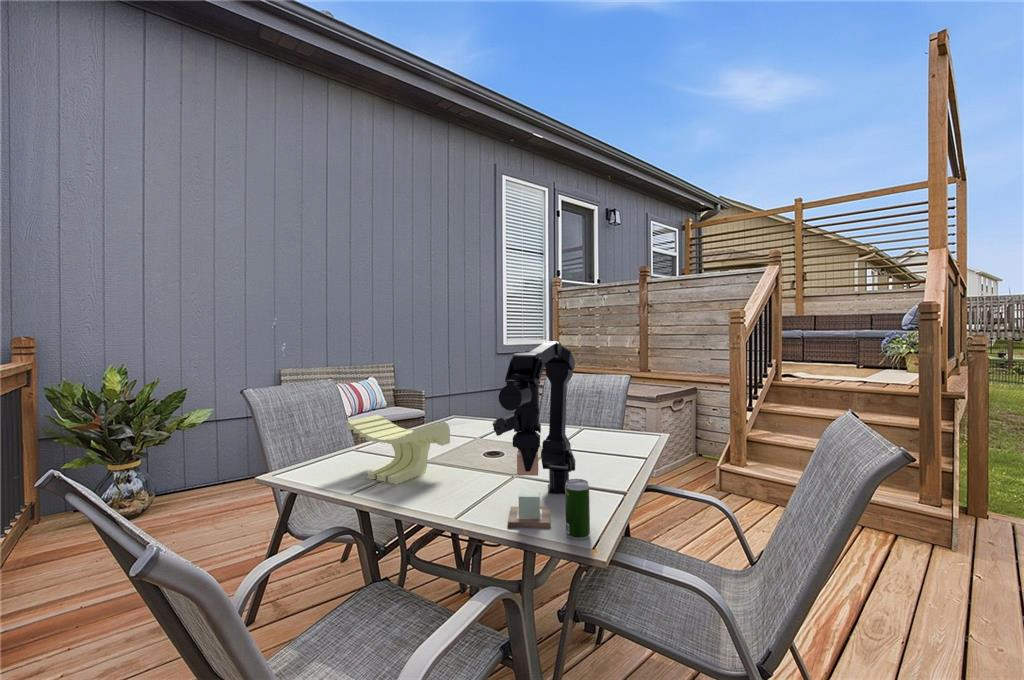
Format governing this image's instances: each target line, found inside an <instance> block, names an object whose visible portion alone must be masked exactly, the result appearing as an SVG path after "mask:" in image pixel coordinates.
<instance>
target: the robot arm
mask: <svg viewBox="0 0 1024 680" xmlns="http://www.w3.org/2000/svg"><path fill="white" fill-rule="evenodd" d="M575 361H576V360H575V357H574V355H573V354H572V352H571V351H570V350H568V349H567V348H566V347H564V346H563V344H562V343H561V342H560V341H557V340H555V341H554V340H553V341H552V340H549V341H548V340H546V341H543V342H541V344H540V345H538V346H537V347H535V348H534V349H532V350H530V351H527V352H526V351H525V352H516V353H513V355H512V357H511V358H510V361H509V365H508V368H507V372H506V376H505V378H504V382H506V383H505V384H506V385H505V386H503V387H502V388H501V389H500V391H499V394H498V402H499V404H500V405H501V407H502V408H503V409H505V410H507V411H513V413H512V414H509V415H506V416H501V417H499V418H498V417H497V418H496V419H495V420H494V421H493V422H492V427H493V431H494V433H495V434H496V437H497V436H498V437H499V436H502V435H503V434H504V433H507V432H510V431H513V432H514V434H513V436H512V447H513V448H517V450H520V451H521V454H522V458H523V462H524V467H525V471H526V472H530V470H531V467H532V465H533V462H534V459H535V457H536V454H537V452H538V453H539V449H540V447H541V433H542V430H541V429H542V428H541V427H542V425H541V422H540V384H541V381H540V379H541V378H542V375H543V372H544V371H545V376H546V377H547V380H548V381H549V383H550V397H549V399H550V402H549V425H548V426H549V428H548V430H549V431H548V435H547V436H546V438H545V439H544V440H543V441H542V448H541V451H540V459H541V464H542V469H543V470H548V474H549V475H548V476H549V477H548V478H549V482H548V484H547V493H549V494H550V493H551V494H555V493H556V494H565V485H566V481H567V480H569V479H570V473H571V472H572V471H573V472H575V471H576V465H577V464H576V458H575V456H574V453H573V451H572V448H571V445H572V444H571V443H570V440H569V438H568V437H567V435H566V427H567V426H566V425H567V424H566V422H567V421H566V420H567V393H568V392H567V391H568V390H567V389H568V384H569V381H570V380H571V379H572V377H573V376H574V375H573V373H574V370H575V365H576V362H575ZM544 369H545V370H544Z"/></svg>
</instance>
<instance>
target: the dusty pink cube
mask: <svg viewBox="0 0 1024 680" xmlns="http://www.w3.org/2000/svg"><path fill="white" fill-rule="evenodd" d="M516 476H531V477H532V476H535V477H537V476H539V451H538V452H537V454H536V457H535V459H534V462H533V465H532V467H531V470H530V472H526V471H525V467H524V462H523V458H522V454H521V451H520V450H519V449H517V453H516Z"/></svg>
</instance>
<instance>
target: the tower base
mask: <svg viewBox="0 0 1024 680" xmlns="http://www.w3.org/2000/svg"><path fill="white" fill-rule="evenodd" d="M509 508H510V509H509V515H508V518H507V528H525V529H526V528H530V529H531V528H532V529H533V528H535V529H537V528H538V529H540V528H541V529H550V528H551V508H550V506H540V518H519V506H510V507H509Z"/></svg>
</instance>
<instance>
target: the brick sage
mask: <svg viewBox="0 0 1024 680" xmlns="http://www.w3.org/2000/svg"><path fill="white" fill-rule="evenodd" d="M540 491H541V490H540V489H519V493H518V507H519V518H540V507H541V504H540V503H541V500H540V499H541V496H540V495H541V493H540Z"/></svg>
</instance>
